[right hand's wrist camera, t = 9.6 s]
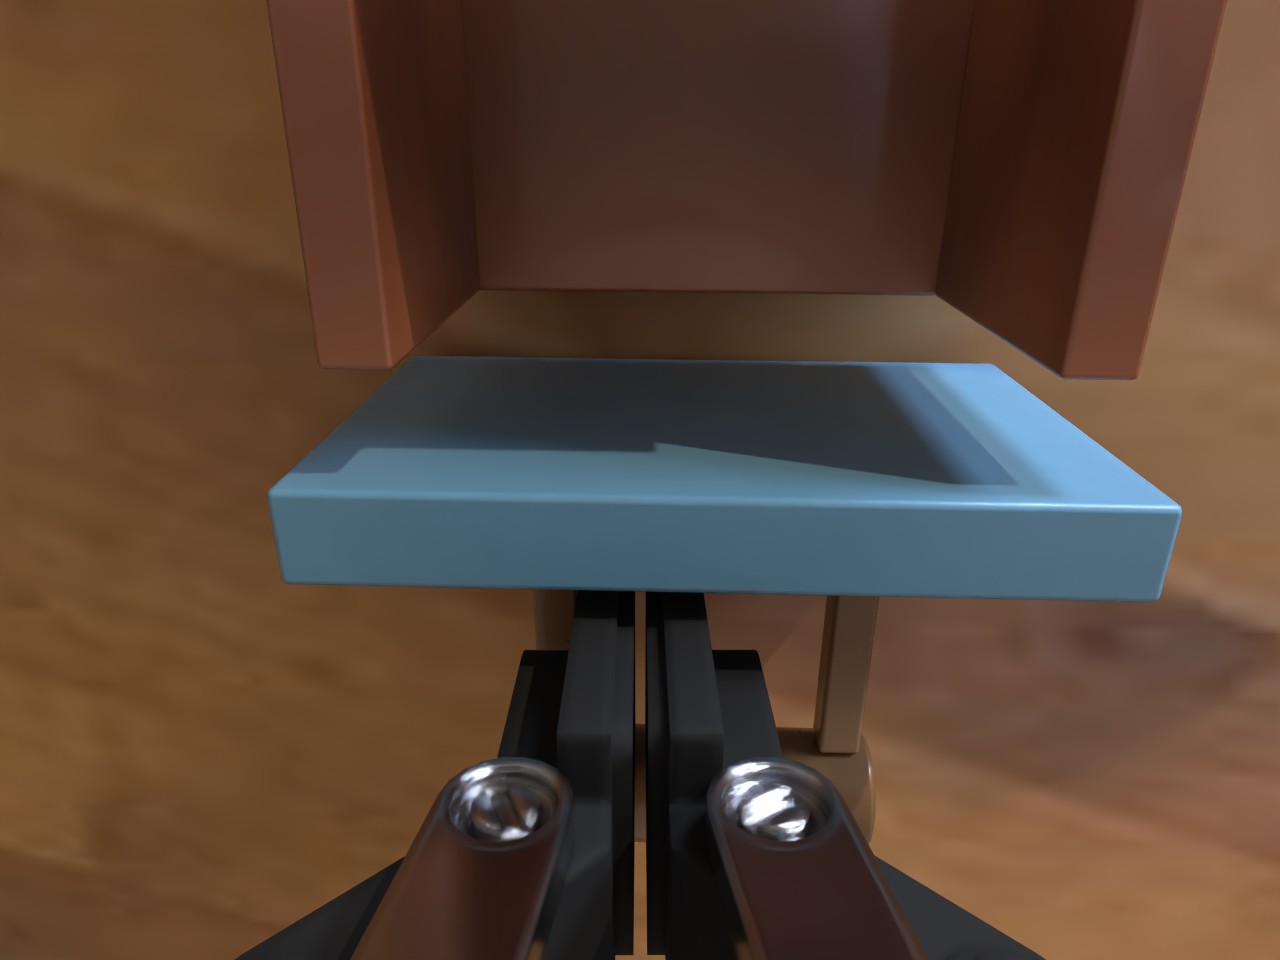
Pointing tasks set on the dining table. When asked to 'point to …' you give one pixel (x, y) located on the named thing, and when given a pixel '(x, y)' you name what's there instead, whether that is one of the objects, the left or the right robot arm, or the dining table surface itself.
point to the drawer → (735, 263)
